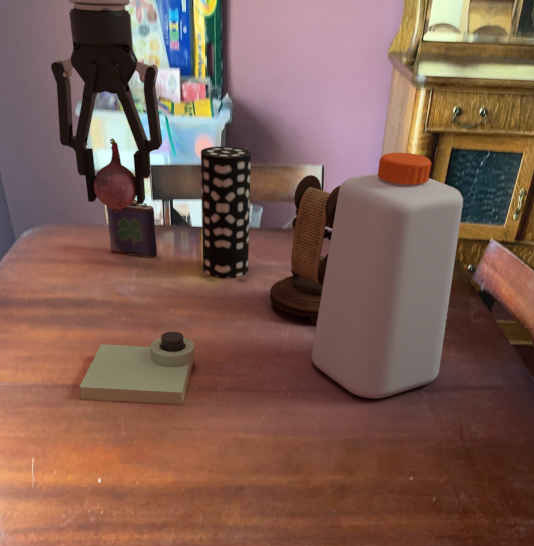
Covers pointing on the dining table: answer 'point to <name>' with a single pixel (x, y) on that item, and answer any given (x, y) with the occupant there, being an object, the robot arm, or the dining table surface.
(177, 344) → the button
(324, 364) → the plastic bottle
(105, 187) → the vegetable
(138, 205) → the flask
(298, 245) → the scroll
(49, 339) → the dining table surface
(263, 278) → the dining table surface
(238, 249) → the white-spotted black cylinder
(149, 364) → the scale
